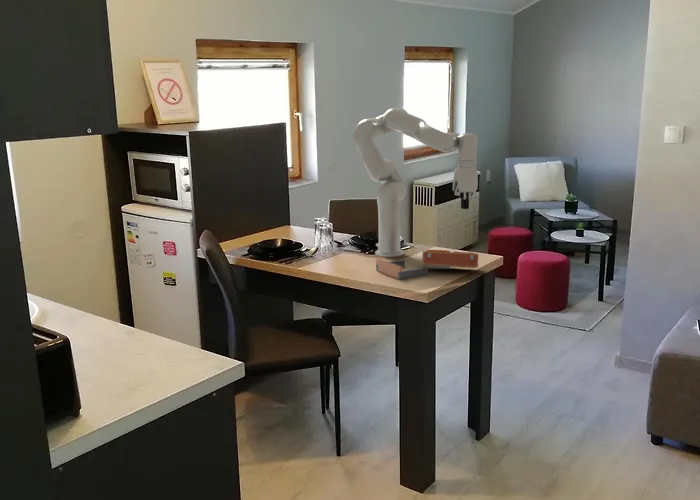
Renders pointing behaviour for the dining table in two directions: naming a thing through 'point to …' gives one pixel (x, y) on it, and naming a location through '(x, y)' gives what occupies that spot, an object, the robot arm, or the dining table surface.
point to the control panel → (449, 259)
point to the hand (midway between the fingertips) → (464, 208)
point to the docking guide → (398, 269)
